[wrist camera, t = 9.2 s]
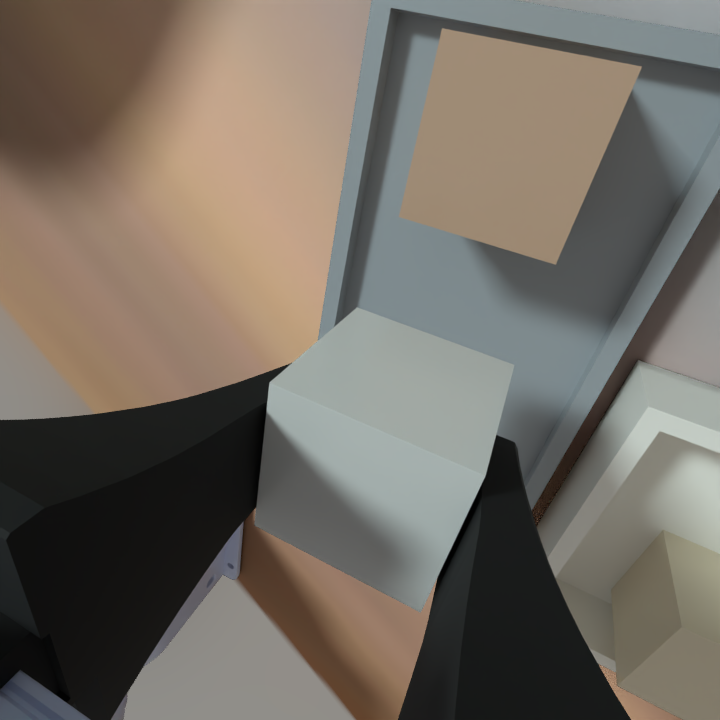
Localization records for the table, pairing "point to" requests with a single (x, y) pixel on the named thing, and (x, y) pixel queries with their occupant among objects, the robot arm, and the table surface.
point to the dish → (634, 493)
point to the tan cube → (512, 141)
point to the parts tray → (513, 270)
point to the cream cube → (670, 628)
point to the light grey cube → (379, 450)
